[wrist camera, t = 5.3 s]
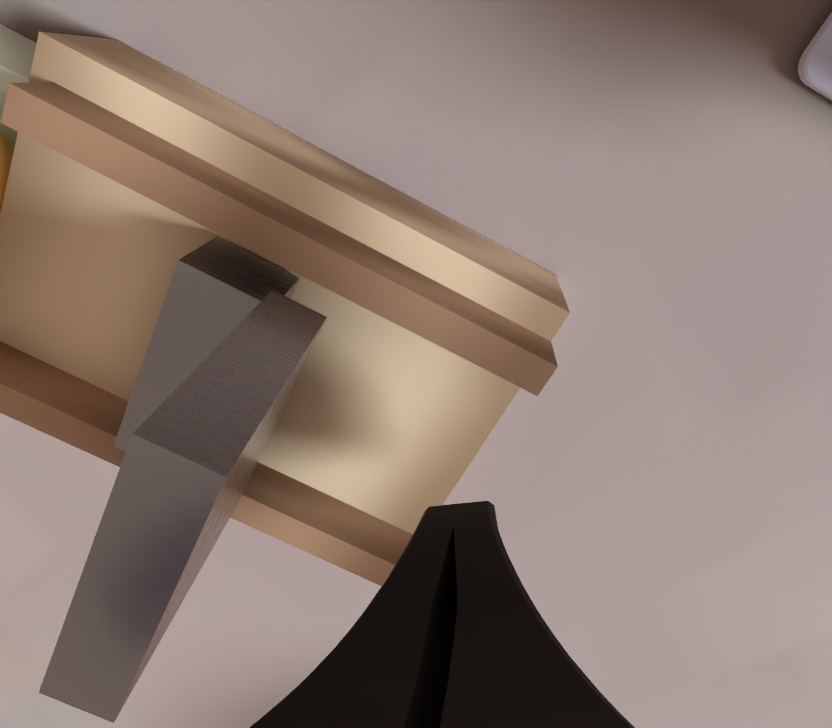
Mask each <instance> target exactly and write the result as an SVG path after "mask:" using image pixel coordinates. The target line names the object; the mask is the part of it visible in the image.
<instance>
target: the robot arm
mask: <svg viewBox="0 0 832 728" xmlns="http://www.w3.org/2000/svg"><path fill="white" fill-rule="evenodd" d="M798 74H799V77H800V80H801V81H802V82H803V83H804V84H805V85H807V86H808V87H810V88H811V89H813V90H815V91H816V92H818V93H820V94H821V95H823V96H825V97H826V98H828V99H830V100H831V101H832V12H831V13H830V15H829V16H828V18H827V19H826V21H825V22H824V23H823V25H822V26H821V28H820V29H819V31H818V32H817V33H816V35H815V36H814V38H813V39H812V40H811V42H810V43H809V45H808V46H807V48H806V49H805V50H804V52H803V54H802V56H801V58H800V60H799V63H798ZM250 728H635V727H633V726H632V725H631V724H630V723H629V722H628V721H627V720H626V719H625V718H624V717H623V716H622V715H621V714H620V713H619V712H618V711H617V710H616V709H615V707H614V706H613V705H612V704H611V703H610V702H609V701H608V700H607V699H606V698H605V697H604V696H603V695H602V694H601V693H600V692H599V691H598V689H597V688H596V687H595V686H594V685H593V683H592V682H591V681H590V680H589V679H588V677H587V676H586V675H585V674H584V673H583V672H582V670H581V669H580V668H579V667H578V666H577V664H576V663H575V662H574V661H573V660H572V659H571V657H570V656H569V655H568V653H567V652H566V651H565V649H564V648H563V647H562V645H561V644H560V643H559V641H558V640H557V639H556V637H555V636H554V634H553V633H552V632H551V630H550V629H549V627H548V626H547V624H546V623H545V621H544V620H543V618H542V617H541V615H540V614H539V612H538V611H537V609H536V607H535V606H534V604H533V602H532V601H531V599H530V597H529V595H528V594H527V592H526V590H525V588H524V587H523V585H522V583H521V581H520V579H519V577H518V575H517V573H516V571H515V569H514V567H513V565H512V563H511V561H510V559H509V556H508V554H507V552H506V550H505V547H504V545H503V542H502V539H501V537H500V534H499V531H498V526H497V520H496V514H495V508H494V505H493V504H491V503H490V502H489V501H482V502H472V503H461V504H451V505H441V506H430V507H428V508H427V509H426V511H425V512H424V514H423V516H422V518H421V520H420V522H419V524H418V526H417V528H416V530H415V532H414V534H413V535H412V537H411V539H410V541H409V543H408V545H407V546H406V548H405V550H404V552H403V553H402V555H401V557H400V558H399V560H398V562H397V563H396V565H395V567H394V568H393V570H392V571H391V573H390V575H389V576H388V578H387V579H386V581H385V583H384V584H383V585H382V587H381V588H380V590H379V591H378V593H377V594H376V596H375V597H374V598H373V600H372V601H371V603H370V604H369V606H368V607H367V609H366V610H365V611H364V613H363V614H362V615H361V617H360V618H359V619H358V620H357V622H356V623H355V624H354V626H353V627H352V628H351V629H350V631H349V632H348V633H347V634H346V635H345V636H344V638H343V639H342V640H341V641H340V642H339V644H338V645H337V646H336V647H335V648H334V649H333V650H332V652H331V653H330V654H329V655H328V656H327V657H326V658H325V659H324V660H323V661H322V662H321V663H320V664H319V665H318V667H317V668H316V669H315V670H314V671H313V672H312V673H311V674H310V675H309V676H308V677H307V678H306V679H305V680H304V681H303V682H302V683H301V684H300V685H299V686H298V687H296V688H295V689H294V690H293V691H292V692H291V693H290V694H289V695H288V696H286V697H285V698H284V699H283V700H282V701H281V702H280V703H279V704H277V705H276V706H275V707H274V708H273V709H272V710H270V711H269V712H268V713H267V714H266V715H264V716H263V717H262V718H261V719H260V720H258V721H257V722H256V723H255V724H253V725H252V726H251V727H250Z"/></svg>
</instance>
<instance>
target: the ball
mask: <svg viewBox="0 0 832 728" xmlns="http://www.w3.org/2000/svg"><path fill="white" fill-rule="evenodd" d="M13 153H14V147H13V145H12V144H11V143H10V142H9V141H8V140H7V138H6V137H5V136H4V135H3V134H1V133H0V214H1V210H2V205H3V200H4V195H5V191H6V186H7V181H8V177H9V172H10V167H11V162H12V158H13Z"/></svg>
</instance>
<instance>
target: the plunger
mask: <svg viewBox="0 0 832 728" xmlns="http://www.w3.org/2000/svg"><path fill="white" fill-rule="evenodd" d="M299 279H300V278H298V277H297V276H295V275H293V274H291V273H289V272H287V271H285V270H283V269H281V268H279V267H277V266H275V265H273V264H271V263H269V262H267V261H265V260H263V259H261V258H259V257H257V256H255V255H253V254H251V253H249V252H247V251H245V250H243V249H241V248H239V247H237V246H236V245H234V244H232V243H230V242H228V241H226V240H224V239H222V238H220V237H218V236H217V237H215V238H213V239H212V240H210V241H208V242H207V243H205V244H204V245H202V246H200V247H199V248H197V249H195V250H194V251H192V252H190V253H189V254H187V255H185V256H184V257H182V258H181V259H179V260H178V262H177V265H176V268H175V271H174V273H173V276H172V279H171V282H170V285H169V288H168V291H167V293H166V296H165V299H164V302H163V305H162V308H161V311H160V314H159V316H158V319H157V322H156V325H155V328H154V331H153V334H152V336H151V339H150V342H149V345H148V348H147V351H146V354H145V357H144V359H143V362H142V365H141V368H140V371H139V374H138V377H137V379H136V382H135V385H134V388H133V391H132V394H131V397H130V399H129V402H128V405H127V408H126V411H125V414H124V417H123V420H122V422H121V425H120V428H119V431H118V434H117V437H116V440H115V442H114V445H113V446H114V447H116V448H118V449H120V450H123V451H125V452H126V453H125V456H124V459H123V461H122V464H121V467H120V470H119V472H118V475H117V478H116V481H115V483H114V486H113V489H112V492H111V495H110V497H109V500H108V503H107V506H106V508H105V511H104V514H103V517H102V519H101V522H100V525H99V528H98V530H97V533H96V536H95V539H94V541H93V544H92V547H91V550H90V553H89V555H88V558H87V561H86V564H85V566H84V569H83V572H82V575H81V577H80V580H79V583H78V586H77V588H76V591H75V594H74V597H73V600H72V602H71V605H70V608H69V611H68V613H67V616H66V619H65V622H64V624H63V627H62V630H61V633H60V635H59V638H58V641H57V644H56V647H55V649H54V652H53V655H52V658H51V660H50V663H49V666H48V669H47V671H46V674H45V677H44V680H43V682H42V685H41V688H40V691H39V693H41V694H44V695H46V696H49V697H51V698H54V699H56V700H59V701H61V702H64V703H66V704H69V705H71V706H73V707H76V708H78V709H81V710H83V711H86V712H88V713H91V714H93V715H96V716H98V717H101V718H103V719H105V720H108V721H110V722H113V723H114V721H115V720H116V718H117V716H118V714H119V713H120V711H121V709H122V707H123V706H124V704H125V702H126V700H127V698H128V697H129V695H130V693H131V691H132V690H133V688H134V686H135V684H136V683H137V681H138V679H139V677H140V675H141V674H142V672H143V670H144V668H145V667H146V665H147V663H148V661H149V660H150V658H151V656H152V654H153V652H154V651H155V649H156V647H157V645H158V644H159V642H160V640H161V638H162V637H163V635H164V633H165V631H166V629H167V628H168V626H169V624H170V622H171V621H172V619H173V617H174V615H175V614H176V612H177V610H178V608H179V607H180V605H181V603H182V601H183V599H184V598H185V596H186V594H187V592H188V591H189V589H190V587H191V585H192V584H193V582H194V580H195V578H196V576H197V575H198V573H199V571H200V569H201V568H202V566H203V564H204V562H205V561H206V559H207V557H208V555H209V553H210V552H211V550H212V548H213V546H214V545H215V543H216V541H217V539H218V538H219V536H220V534H221V532H222V530H223V529H224V527H225V525H226V523H227V522H228V520H229V518H230V516H231V515H232V513H233V511H234V509H235V507H236V506H237V504H238V502H239V500H240V498H241V496H242V494H243V492H244V490H245V488H246V486H247V483H248V481H249V479H250V477H251V475H252V473H253V471H254V469H255V467H256V465H257V463H258V461H259V458H260V456H261V454H262V452H263V450H264V448H265V446H266V444H267V442H268V440H269V438H270V435H271V433H272V431H273V429H274V427H275V425H276V423H277V421H278V419H279V417H280V415H281V413H282V410H283V408H284V406H285V404H286V402H287V400H288V398H289V396H290V394H291V392H292V390H293V387H294V385H295V383H296V381H297V379H298V377H299V375H300V373H301V371H302V369H303V367H304V365H305V362H306V360H307V358H308V356H309V354H310V352H311V350H312V348H313V346H314V344H315V342H316V339H317V337H318V335H319V333H320V331H321V329H322V327H323V325H324V323H325V321H326V319H327V317H326V316H324V315H322V314H320V313H318V312H316V311H314V310H312V309H310V308H308V307H306V306H304V305H302V304H300V303H298V302H296V301H294V300H292V299H291V297H292V294H293V292H294V290H295V288H296V285H297V283H298V281H299Z"/></svg>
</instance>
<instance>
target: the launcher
mask: <svg viewBox="0 0 832 728" xmlns="http://www.w3.org/2000/svg"><path fill="white" fill-rule="evenodd" d="M1 123H2V124H4V125H6V126H8V127H10V128H12V129H14V130H16V131H17V132H18V134H17V139H16V143H15V148H14V153H13V158H12V162H11V167H10V172H9V177H8V181H7V186H6V191H5V195H4V200H3V205H2V210H1V214H0V413H2V414H5V415H7V416H9V417H11V418H13V419H16V420H18V421H20V422H22V423H24V424H26V425H29V426H31V427H33V428H35V429H37V430H40V431H42V432H44V433H46V434H48V435H51V436H53V437H55V438H57V439H59V440H62V441H64V442H66V443H68V444H70V445H73V446H75V447H77V448H79V449H81V450H84V451H86V452H88V453H90V454H92V455H95V456H97V457H99V458H101V459H103V460H106V461H108V462H110V463H112V464H114V465H117V466H119V467H121V464H122V461H123V459H124V456H125V453H126V452H125V451H123V450H120V449H118V448H116V447H114V446H113V445H114V442H115V440H116V437H117V434H118V431H119V428H120V425H121V422H122V420H123V417H124V414H125V411H126V408H127V405H128V402H129V399H130V397H131V394H132V391H133V388H134V385H135V382H136V379H137V377H138V374H139V371H140V368H141V365H142V362H143V359H144V357H145V354H146V351H147V348H148V345H149V342H150V339H151V336H152V334H153V331H154V328H155V325H156V322H157V319H158V316H159V314H160V311H161V308H162V305H163V302H164V299H165V296H166V293H167V291H168V288H169V285H170V282H171V279H172V276H173V273H174V271H175V268H176V265H177V262H178V260H179V259H181V258H182V257H184V256H185V255H187V254H189V253H190V252H192V251H194V250H195V249H197V248H199V247H200V246H202V245H204V244H205V243H207V242H208V241H210V240H212V239H213V238H215V237H217V236H218V237H220V238H222V239H224V240H226V241H228V242H230V243H232V244H234V245H236V246H237V247H239V248H241V249H243V250H245V251H247V252H249V253H251V254H253V255H255V256H257V257H259V258H261V259H263V260H265V261H267V262H269V263H271V264H273V265H275V266H277V267H279V268H281V269H283V270H285V271H287V272H289V273H291V274H293V275H295V276H297V277H298V278H300V279H299V281H298V283H297V285H296V288H295V290H294V292H293V294H292V297H291V299H292V300H294V301H296V302H298V303H300V304H302V305H304V306H306V307H308V308H310V309H312V310H314V311H316V312H318V313H320V314H322V315H324V316H326V317H327V319H326V321H325V323H324V325H323V327H322V329H321V331H320V333H319V335H318V337H317V339H316V342H315V344H314V346H313V348H312V350H311V352H310V354H309V356H308V358H307V360H306V362H305V365H304V367H303V369H302V371H301V373H300V375H299V377H298V379H297V381H296V383H295V385H294V387H293V390H292V392H291V394H290V396H289V398H288V400H287V402H286V404H285V406H284V408H283V410H282V413H281V415H280V417H279V419H278V421H277V423H276V425H275V427H274V429H273V431H272V433H271V435H270V438H269V440H268V442H267V444H266V446H265V448H264V450H263V452H262V454H261V456H260V458H259V461H258V463H257V465H256V467H255V469H254V471H253V473H252V475H251V477H250V479H249V481H248V483H247V486H246V488H245V490H244V492H243V494H242V496H241V498H240V500H239V502H238V504H237V506H236V507H235V509H234V511H233V513H232V515H231V516H230V517H231V518H233V519H235V520H237V521H240V522H242V523H244V524H246V525H248V526H251V527H253V528H255V529H257V530H259V531H262V532H264V533H266V534H268V535H270V536H273V537H275V538H277V539H279V540H281V541H284V542H286V543H288V544H290V545H292V546H295V547H297V548H299V549H301V550H303V551H306V552H308V553H310V554H312V555H314V556H317V557H319V558H321V559H323V560H325V561H328V562H330V563H332V564H334V565H336V566H339V567H341V568H343V569H345V570H347V571H350V572H352V573H354V574H356V575H358V576H361V577H363V578H365V579H367V580H369V581H372V582H374V583H376V584H378V585H380V586H382V585H383V584H384V583H385V581H386V579H387V578H388V576H389V575H390V573H391V571H392V570H393V568H394V567H395V565H396V563H397V562H398V560H399V558H400V557H401V555H402V553H403V552H404V550H405V548H406V546H407V545H408V543H409V541H410V539H411V537H412V535H413V534H414V532H415V530H416V528H417V526H418V524H419V522H420V520H421V518H422V516H423V514H424V512H425V511H426V509H427V508H428V507H430V506H441V505H443V503H444V502H445V500H446V499H447V497H448V496H449V494H450V493H451V491H452V490H453V488H454V487H455V485H456V484H457V482H458V481H459V479H460V478H461V476H462V475H463V473H464V471H465V470H466V468H467V467H468V465H469V464H470V462H471V461H472V459H473V458H474V456H475V455H476V453H477V452H478V450H479V449H480V447H481V446H482V444H483V443H484V441H485V440H486V438H487V437H488V435H489V434H490V432H491V431H492V429H493V428H494V426H495V425H496V423H497V422H498V420H499V419H500V417H501V416H502V414H503V413H504V411H505V410H506V408H507V407H508V405H509V404H510V402H511V401H512V399H513V398H514V396H515V395H516V393H517V392H518V390H519V389H520V387H521V388H523V389H525V390H527V391H529V392H530V393H532V394H534V395H536V396H538V395H539V393H540V392H541V390H542V389H543V387H544V386H545V384H546V383H547V381H548V380H549V378H550V377H551V376H552V374H553V373H554V371H555V370H556V368H557V367H558V366H557V362H556V359H555V355H554V351H553V348H552V344H551V340H552V339H553V337H554V336H555V334H556V333H557V331H558V330H559V328H560V327H561V325H562V324H563V322H564V321H565V319H566V318H567V316H568V315H569V313H570V311H569V309H568V306H567V304H566V301H565V298H564V296H563V293H562V291H561V288H560V286H559V283H558V280H557V278H556V275H555V274H553V273H551V272H549V271H547V270H545V269H544V268H542V267H540V266H538V265H536V264H534V263H532V262H530V261H529V260H527V259H525V258H523V257H521V256H519V255H517V254H516V253H514V252H512V251H510V250H508V249H506V248H504V247H502V246H501V245H499V244H497V243H495V242H493V241H491V240H489V239H488V238H486V237H484V236H482V235H480V234H478V233H476V232H474V231H473V230H471V229H469V228H467V227H465V226H463V225H461V224H460V223H458V222H456V221H454V220H452V219H450V218H448V217H446V216H445V215H443V214H441V213H439V212H437V211H435V210H433V209H432V208H430V207H428V206H426V205H424V204H422V203H420V202H418V201H417V200H415V199H413V198H411V197H409V196H407V195H405V194H404V193H402V192H400V191H398V190H396V189H394V188H392V187H390V186H389V185H387V184H385V183H383V182H381V181H379V180H377V179H376V178H374V177H372V176H370V175H368V174H366V173H364V172H362V171H361V170H359V169H357V168H355V167H353V166H351V165H349V164H348V163H346V162H344V161H342V160H340V159H338V158H336V157H334V156H333V155H331V154H329V153H327V152H325V151H323V150H321V149H320V148H318V147H316V146H314V145H312V144H310V143H308V142H306V141H305V140H303V139H301V138H299V137H297V136H295V135H293V134H292V133H290V132H288V131H286V130H284V129H282V128H280V127H278V126H277V125H275V124H273V123H271V122H269V121H267V120H265V119H264V118H262V117H260V116H258V115H256V114H254V113H252V112H250V111H249V110H247V109H245V108H243V107H241V106H239V105H237V104H236V103H234V102H232V101H230V100H228V99H226V98H224V97H222V96H221V95H219V94H217V93H215V92H213V91H211V90H209V89H208V88H206V87H204V86H202V85H200V84H198V83H196V82H194V81H193V80H191V79H189V78H187V77H185V76H183V75H181V74H180V73H178V72H176V71H174V70H172V69H170V68H168V67H166V66H165V65H163V64H161V63H159V62H157V61H155V60H153V59H152V58H150V57H148V56H146V55H144V54H142V53H140V52H138V51H137V50H135V49H133V48H131V47H129V46H127V45H125V44H124V43H122V42H120V41H118V40H116V39H107V38H98V37H88V36H78V35H68V34H59V33H49V32H39V35H38V39H37V44H36V49H35V53H34V58H33V63H32V68H31V72H30V77H29V82H28V83H9V85H8V90H7V95H6V100H5V105H4V110H3V115H2V120H1Z"/></svg>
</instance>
